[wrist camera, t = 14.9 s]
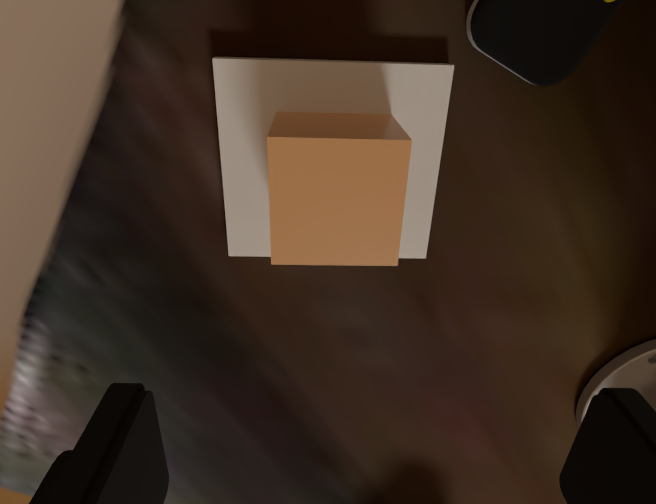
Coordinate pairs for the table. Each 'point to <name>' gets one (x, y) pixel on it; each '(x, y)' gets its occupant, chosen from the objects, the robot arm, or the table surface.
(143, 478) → the robot arm
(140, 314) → the table surface
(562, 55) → the remote control
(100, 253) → the table surface
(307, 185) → the cardboard shipping carton
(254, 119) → the post base
